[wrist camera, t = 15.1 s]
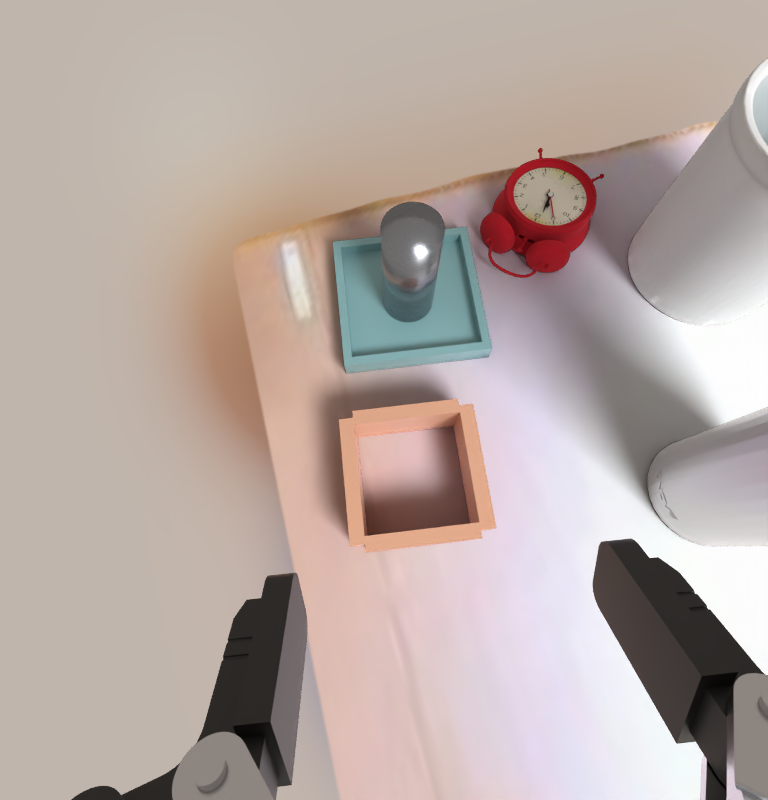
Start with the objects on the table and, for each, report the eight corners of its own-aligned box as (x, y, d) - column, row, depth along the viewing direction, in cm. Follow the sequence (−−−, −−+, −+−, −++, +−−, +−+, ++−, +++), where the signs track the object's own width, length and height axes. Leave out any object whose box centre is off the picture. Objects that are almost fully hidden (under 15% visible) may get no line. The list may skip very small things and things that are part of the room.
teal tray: (463, 239, 49) (466, 226, 47) (488, 357, 44) (492, 348, 42) (335, 253, 48) (332, 241, 46) (346, 373, 44) (344, 365, 42)
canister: (427, 275, 46) (438, 198, 36) (436, 318, 45) (450, 251, 34) (379, 282, 46) (376, 206, 35) (387, 325, 45) (385, 260, 34)
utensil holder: (796, 320, 45) (1034, 183, 28) (651, 346, 44) (806, 222, 27) (732, 202, 49) (904, 25, 33) (601, 225, 49) (708, 56, 32)
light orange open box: (464, 412, 42) (471, 397, 38) (486, 537, 39) (497, 536, 34) (344, 426, 42) (338, 412, 38) (355, 553, 39) (350, 554, 34)
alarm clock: (622, 172, 47) (578, 256, 40) (592, 222, 52) (549, 304, 45) (529, 135, 48) (472, 208, 41) (510, 187, 54) (456, 260, 47)
